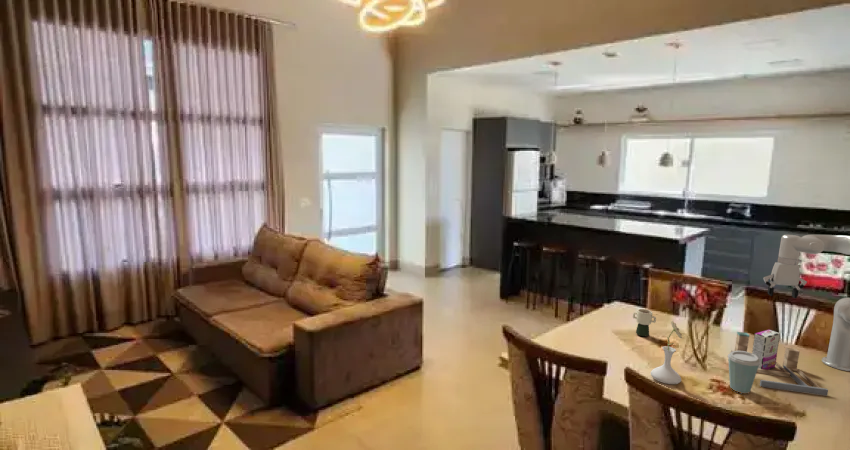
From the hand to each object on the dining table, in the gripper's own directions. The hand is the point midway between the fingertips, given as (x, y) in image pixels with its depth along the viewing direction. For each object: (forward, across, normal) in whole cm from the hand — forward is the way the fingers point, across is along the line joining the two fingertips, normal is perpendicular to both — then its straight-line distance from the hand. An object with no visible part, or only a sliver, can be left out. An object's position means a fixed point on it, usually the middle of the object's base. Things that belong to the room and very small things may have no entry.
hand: (782, 296), depth 217 cm
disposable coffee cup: (+28, +31, +47) cm, 63 cm away
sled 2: (+28, +1, +28) cm, 40 cm away
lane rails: (+28, +10, +30) cm, 43 cm away
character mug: (+28, +58, -2) cm, 65 cm away
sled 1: (+28, +13, +16) cm, 35 cm away
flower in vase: (+28, +58, +47) cm, 80 cm away
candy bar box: (+28, +13, +21) cm, 37 cm away
